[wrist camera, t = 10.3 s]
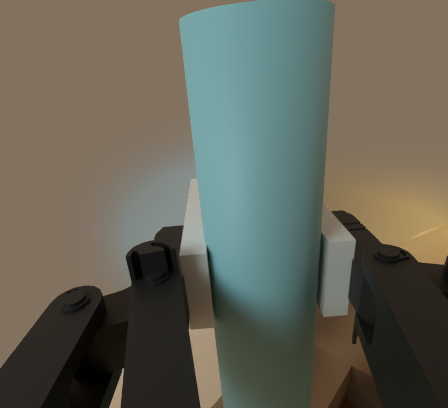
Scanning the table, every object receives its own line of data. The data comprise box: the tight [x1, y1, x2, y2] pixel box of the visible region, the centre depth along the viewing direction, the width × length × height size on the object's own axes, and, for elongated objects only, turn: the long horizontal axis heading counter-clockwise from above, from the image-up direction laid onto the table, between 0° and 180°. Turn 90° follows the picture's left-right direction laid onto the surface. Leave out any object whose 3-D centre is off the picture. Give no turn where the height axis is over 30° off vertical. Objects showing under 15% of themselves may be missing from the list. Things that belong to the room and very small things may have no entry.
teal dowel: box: [179, 0, 335, 408], centre depth 10 cm, size 4×4×16 cm
